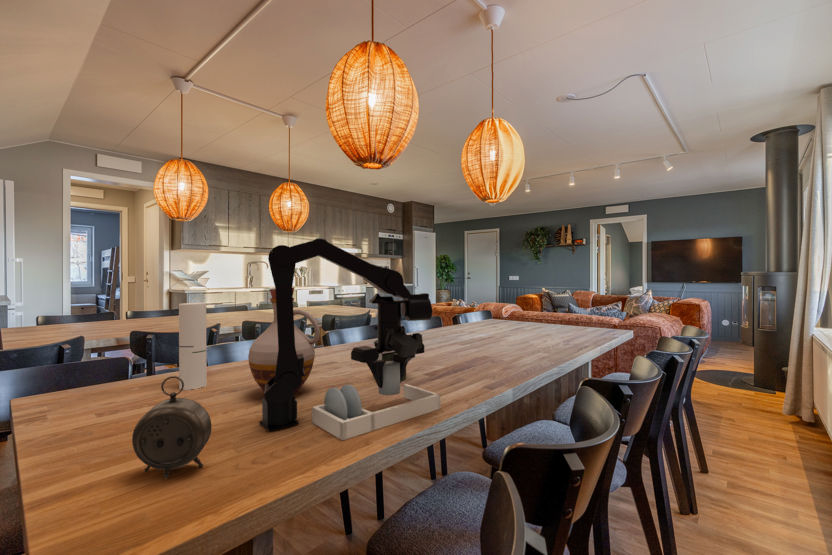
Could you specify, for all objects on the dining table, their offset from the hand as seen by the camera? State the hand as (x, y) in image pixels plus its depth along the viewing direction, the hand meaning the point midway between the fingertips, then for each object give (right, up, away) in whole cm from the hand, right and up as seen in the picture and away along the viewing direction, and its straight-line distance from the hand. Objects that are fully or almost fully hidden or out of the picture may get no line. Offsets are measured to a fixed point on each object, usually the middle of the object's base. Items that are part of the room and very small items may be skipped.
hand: (389, 385), depth 95 cm
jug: (-31, -7, +16) cm, 35 cm away
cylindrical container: (-61, -7, +22) cm, 65 cm away
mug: (-1, -6, +30) cm, 30 cm away
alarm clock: (-35, -7, -29) cm, 46 cm away
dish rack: (-2, -6, -3) cm, 7 cm away
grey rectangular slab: (0, -2, 0) cm, 2 cm away
